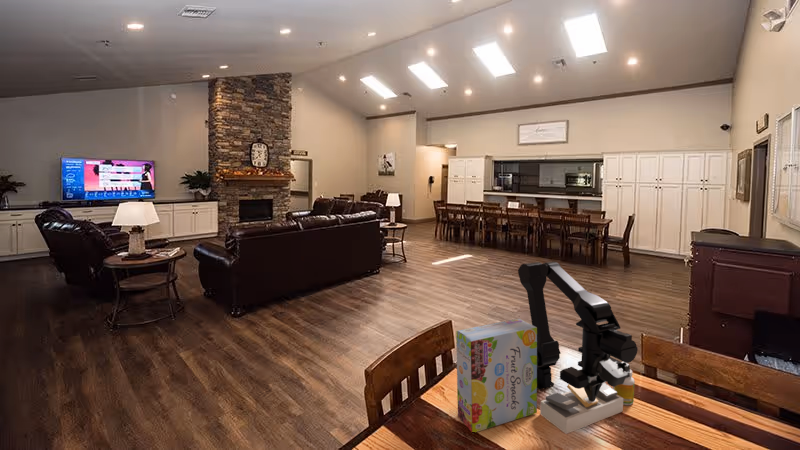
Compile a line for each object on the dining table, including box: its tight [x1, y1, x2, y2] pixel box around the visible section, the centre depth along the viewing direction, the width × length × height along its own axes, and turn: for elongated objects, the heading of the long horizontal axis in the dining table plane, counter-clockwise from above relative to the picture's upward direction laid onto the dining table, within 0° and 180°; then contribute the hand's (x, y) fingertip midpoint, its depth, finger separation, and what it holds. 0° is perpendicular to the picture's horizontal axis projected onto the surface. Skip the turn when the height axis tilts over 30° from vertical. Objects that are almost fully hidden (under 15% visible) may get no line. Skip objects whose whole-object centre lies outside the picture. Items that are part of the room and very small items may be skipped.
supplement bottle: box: [612, 368, 635, 406], centre depth 111 cm, size 5×5×10 cm
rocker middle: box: [566, 383, 598, 407], centre depth 105 cm, size 7×4×1 cm, turn 25°
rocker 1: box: [545, 392, 578, 410], centre depth 102 cm, size 7×4×1 cm, turn 24°
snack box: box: [455, 318, 538, 433], centre depth 104 cm, size 22×9×26 cm, turn 111°
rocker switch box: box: [539, 390, 624, 435], centre depth 105 cm, size 9×22×4 cm, turn 114°
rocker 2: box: [598, 382, 617, 399], centre depth 108 cm, size 7×4×1 cm, turn 25°
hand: (591, 400), depth 102 cm, fingers closed
